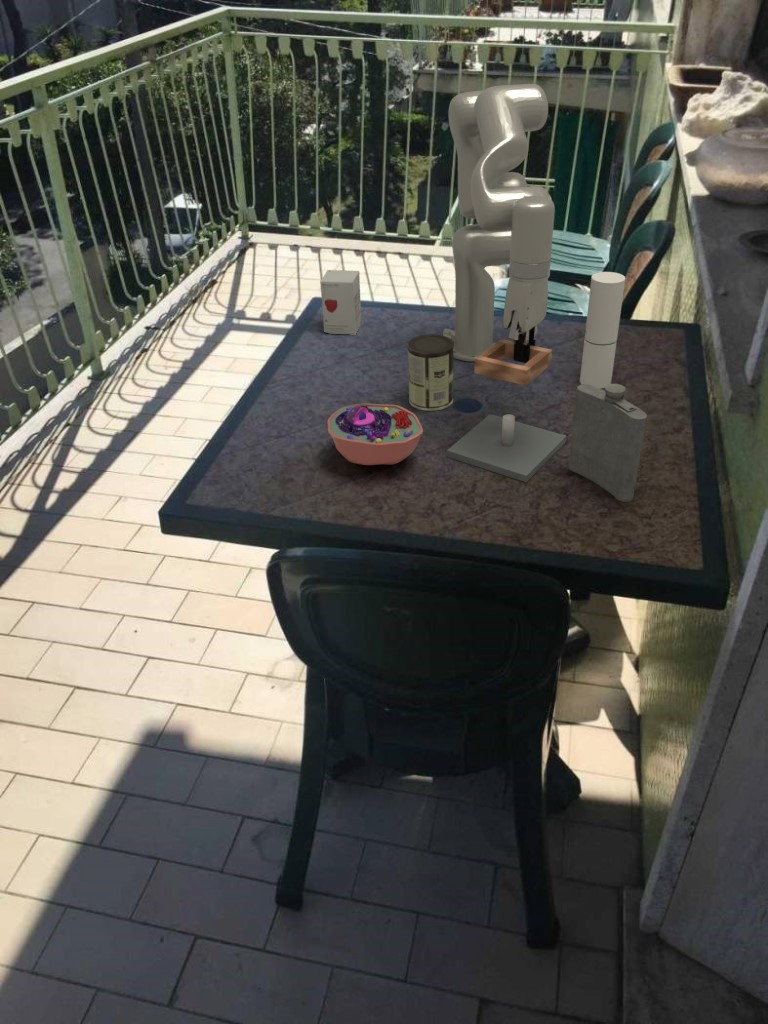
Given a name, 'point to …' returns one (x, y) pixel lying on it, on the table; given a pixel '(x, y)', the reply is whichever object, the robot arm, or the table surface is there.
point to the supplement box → (341, 301)
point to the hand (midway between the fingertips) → (523, 359)
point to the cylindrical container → (602, 328)
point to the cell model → (374, 433)
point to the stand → (507, 447)
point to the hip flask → (607, 439)
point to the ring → (511, 372)
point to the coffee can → (430, 372)
